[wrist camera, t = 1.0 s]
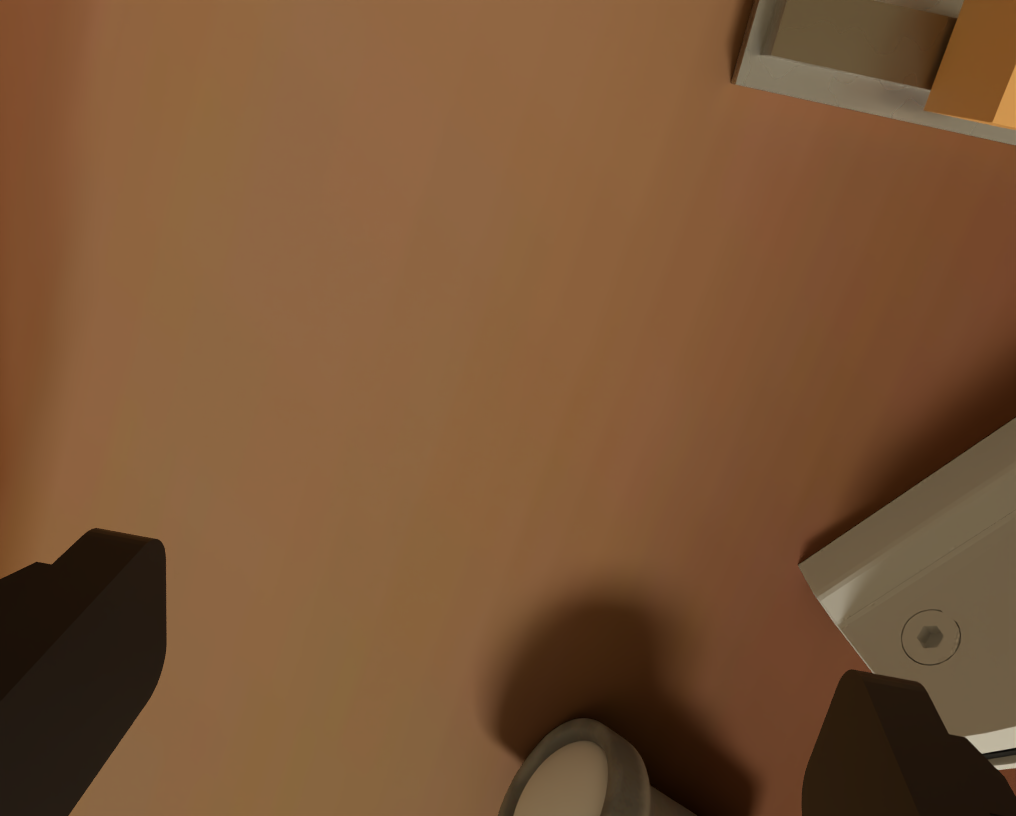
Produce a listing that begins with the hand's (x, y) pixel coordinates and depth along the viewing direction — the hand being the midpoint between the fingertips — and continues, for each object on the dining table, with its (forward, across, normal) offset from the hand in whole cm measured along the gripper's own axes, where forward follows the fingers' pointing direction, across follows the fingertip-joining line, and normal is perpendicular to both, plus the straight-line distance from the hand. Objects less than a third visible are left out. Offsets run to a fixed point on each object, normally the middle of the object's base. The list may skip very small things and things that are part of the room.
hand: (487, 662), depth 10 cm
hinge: (+24, -20, +8) cm, 32 cm away
